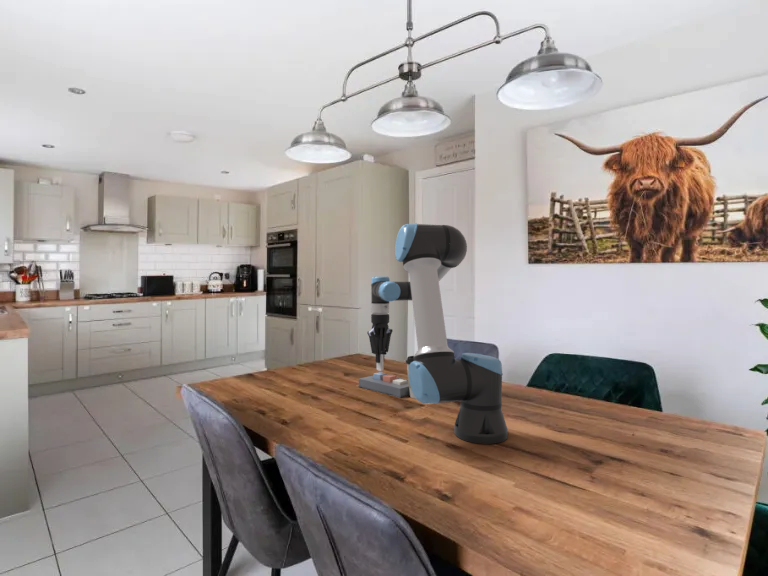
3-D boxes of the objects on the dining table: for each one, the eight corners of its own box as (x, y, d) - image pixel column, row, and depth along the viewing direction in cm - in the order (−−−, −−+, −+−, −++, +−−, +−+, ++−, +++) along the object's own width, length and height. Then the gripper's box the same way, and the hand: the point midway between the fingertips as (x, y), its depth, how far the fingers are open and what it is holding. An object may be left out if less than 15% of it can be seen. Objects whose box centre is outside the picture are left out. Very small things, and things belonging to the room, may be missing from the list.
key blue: (380, 381, 177) (380, 375, 177) (373, 379, 179) (373, 373, 179) (386, 379, 180) (386, 373, 179) (379, 378, 182) (380, 372, 182)
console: (400, 397, 163) (400, 388, 163) (358, 387, 179) (358, 378, 179) (421, 391, 172) (421, 382, 172) (380, 381, 188) (380, 373, 188)
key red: (389, 383, 173) (389, 377, 173) (382, 381, 176) (382, 375, 176) (396, 381, 176) (396, 375, 176) (389, 380, 178) (389, 374, 178)
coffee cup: (432, 400, 160) (432, 360, 160) (405, 400, 160) (406, 359, 160) (430, 393, 170) (430, 355, 169) (405, 393, 170) (405, 355, 170)
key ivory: (400, 388, 169) (400, 382, 169) (392, 386, 172) (392, 380, 172) (406, 386, 172) (406, 380, 172) (399, 384, 175) (399, 378, 175)
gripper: (375, 315, 172) (375, 374, 172) (397, 313, 181) (397, 369, 182) (362, 313, 177) (362, 371, 177) (384, 312, 186) (384, 366, 187)
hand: (380, 370), depth 179 cm, fingers closed
